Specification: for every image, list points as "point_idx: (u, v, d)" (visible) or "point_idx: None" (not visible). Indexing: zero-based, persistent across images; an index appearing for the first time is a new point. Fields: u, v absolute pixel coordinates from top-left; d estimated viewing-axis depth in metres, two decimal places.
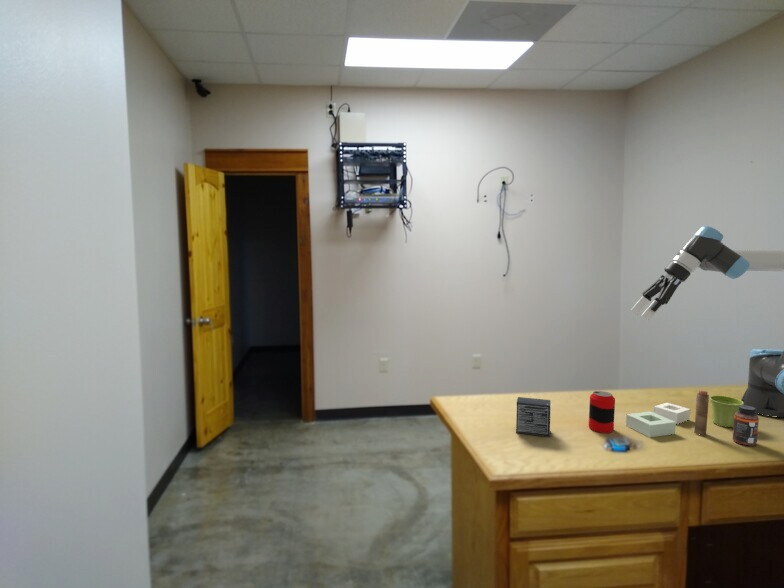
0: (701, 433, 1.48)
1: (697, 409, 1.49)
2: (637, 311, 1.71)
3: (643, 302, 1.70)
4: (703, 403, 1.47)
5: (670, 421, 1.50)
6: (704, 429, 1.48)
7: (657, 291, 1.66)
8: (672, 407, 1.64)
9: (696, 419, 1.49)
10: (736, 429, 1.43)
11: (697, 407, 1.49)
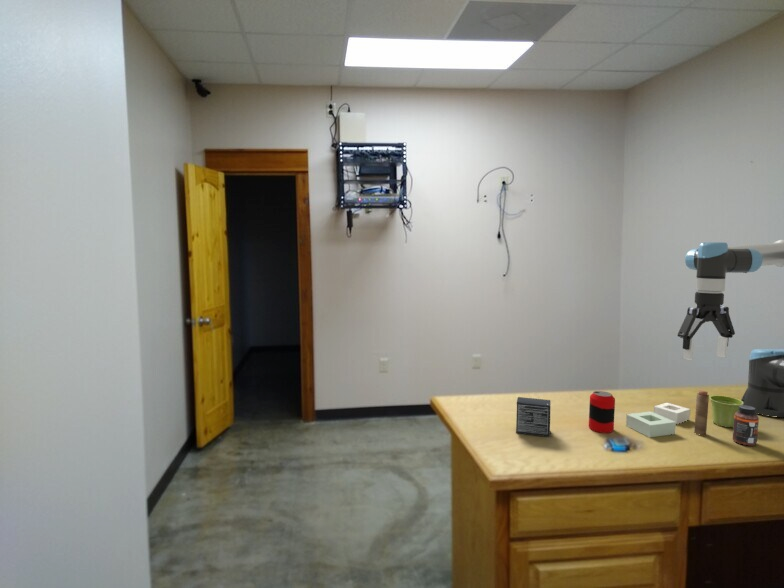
0: (701, 433, 1.48)
1: (697, 409, 1.49)
2: (722, 354, 1.49)
3: (722, 342, 1.49)
4: (703, 403, 1.47)
5: (670, 421, 1.50)
6: (704, 429, 1.48)
7: (719, 325, 1.47)
8: (672, 407, 1.64)
9: (696, 419, 1.49)
10: (736, 429, 1.43)
11: (697, 407, 1.49)
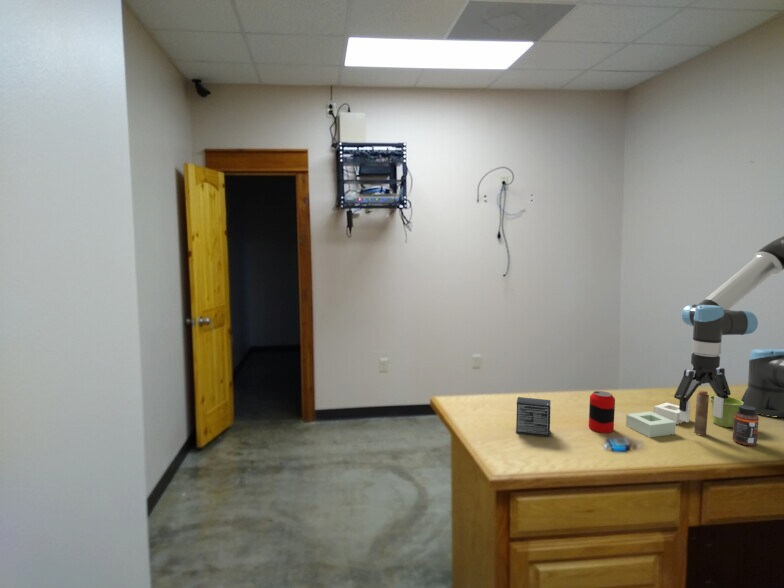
0: (701, 433, 1.48)
1: (697, 409, 1.49)
2: (718, 414, 1.50)
3: (718, 402, 1.50)
4: (703, 403, 1.47)
5: (670, 421, 1.50)
6: (704, 429, 1.48)
7: (715, 386, 1.49)
8: (672, 407, 1.64)
9: (696, 419, 1.49)
10: (736, 429, 1.43)
11: (697, 407, 1.49)
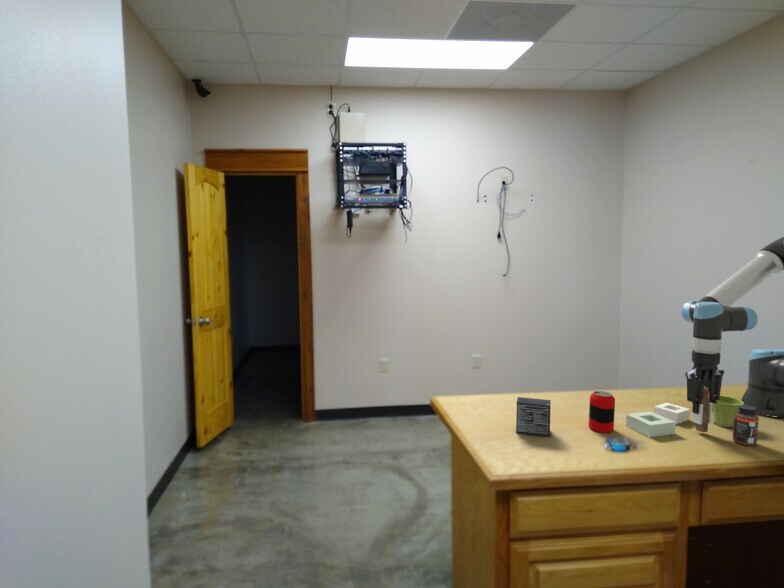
0: (702, 429, 1.48)
1: None
2: None
3: None
4: (704, 399, 1.47)
5: (670, 421, 1.50)
6: (705, 425, 1.48)
7: (709, 386, 1.48)
8: (672, 407, 1.64)
9: None
10: (736, 429, 1.43)
11: None
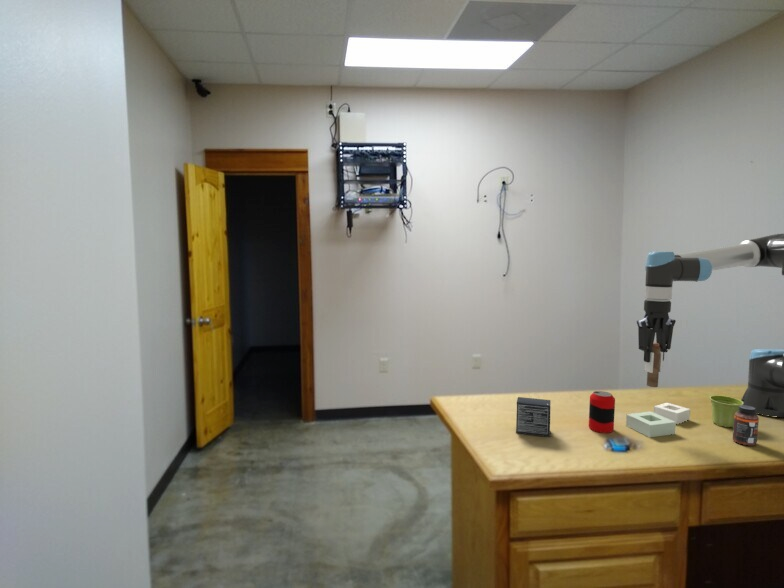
0: (653, 384, 1.50)
1: None
2: None
3: None
4: (654, 354, 1.49)
5: (670, 421, 1.50)
6: (655, 380, 1.50)
7: (660, 335, 1.50)
8: (672, 407, 1.64)
9: None
10: (736, 429, 1.43)
11: None
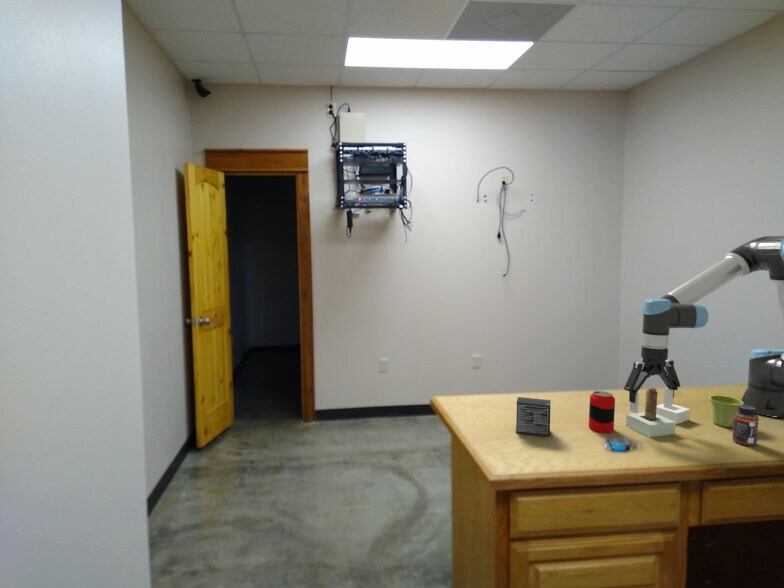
0: None
1: (646, 406, 1.52)
2: (668, 405, 1.53)
3: (668, 394, 1.54)
4: (651, 399, 1.51)
5: (670, 421, 1.50)
6: None
7: (664, 378, 1.52)
8: (672, 407, 1.64)
9: (645, 415, 1.53)
10: (736, 429, 1.43)
11: (646, 404, 1.52)
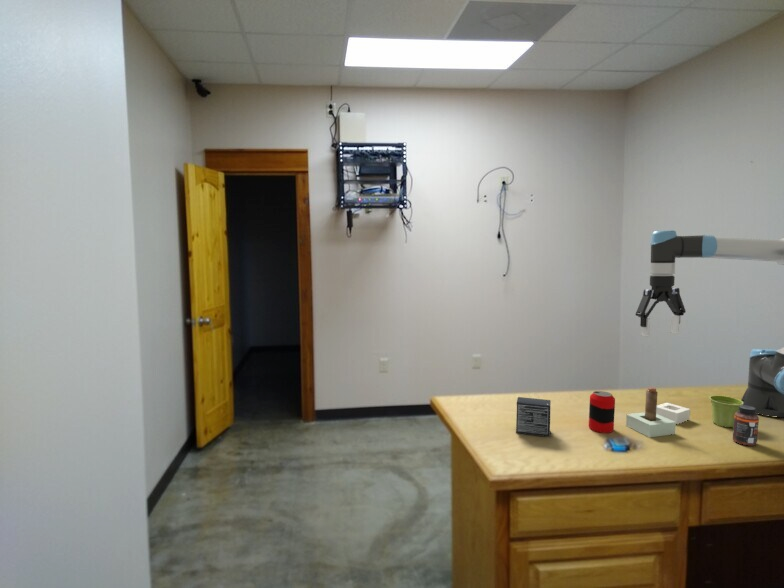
0: None
1: (646, 406, 1.52)
2: (675, 330, 1.66)
3: (674, 320, 1.66)
4: (651, 399, 1.51)
5: (670, 421, 1.50)
6: None
7: (671, 304, 1.65)
8: (672, 407, 1.64)
9: (645, 415, 1.53)
10: (736, 429, 1.43)
11: (646, 404, 1.52)
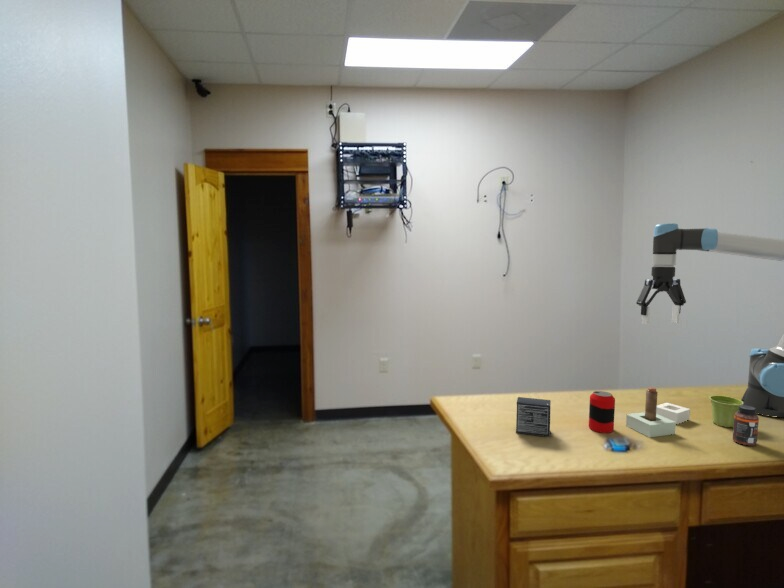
0: None
1: (646, 406, 1.52)
2: (675, 320, 1.73)
3: (675, 309, 1.74)
4: (651, 399, 1.51)
5: (670, 421, 1.50)
6: None
7: (672, 295, 1.72)
8: (672, 407, 1.64)
9: (645, 415, 1.53)
10: (736, 429, 1.43)
11: (646, 404, 1.52)
